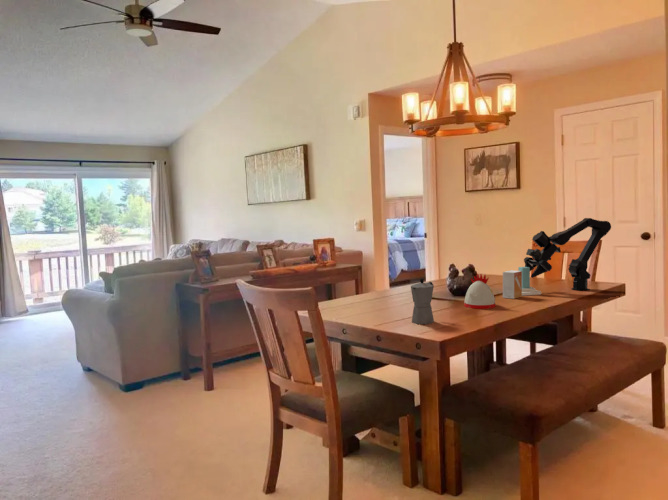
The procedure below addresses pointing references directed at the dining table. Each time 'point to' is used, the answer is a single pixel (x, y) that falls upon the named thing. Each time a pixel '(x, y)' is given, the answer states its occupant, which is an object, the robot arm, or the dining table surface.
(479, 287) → the kitchen timer
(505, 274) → the small box
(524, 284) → the pillar
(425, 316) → the coffeepot
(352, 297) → the dining table surface
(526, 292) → the plinth
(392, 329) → the dining table surface
